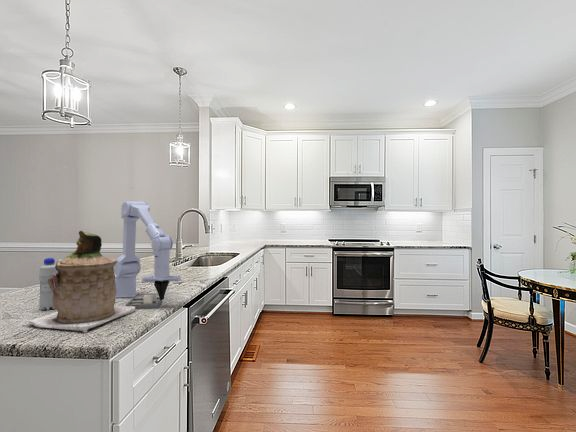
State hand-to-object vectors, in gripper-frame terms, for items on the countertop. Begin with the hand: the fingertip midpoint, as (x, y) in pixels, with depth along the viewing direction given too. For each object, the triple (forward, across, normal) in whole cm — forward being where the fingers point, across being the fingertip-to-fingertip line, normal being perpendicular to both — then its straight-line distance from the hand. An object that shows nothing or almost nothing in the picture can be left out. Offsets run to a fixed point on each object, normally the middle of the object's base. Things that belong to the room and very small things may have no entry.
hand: (161, 299), depth 128 cm
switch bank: (+3, -7, +3) cm, 8 cm away
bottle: (+3, -43, +4) cm, 43 cm away
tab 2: (+2, -5, +6) cm, 7 cm away
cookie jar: (+3, -24, -10) cm, 26 cm away
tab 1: (+2, -5, 0) cm, 5 cm away
